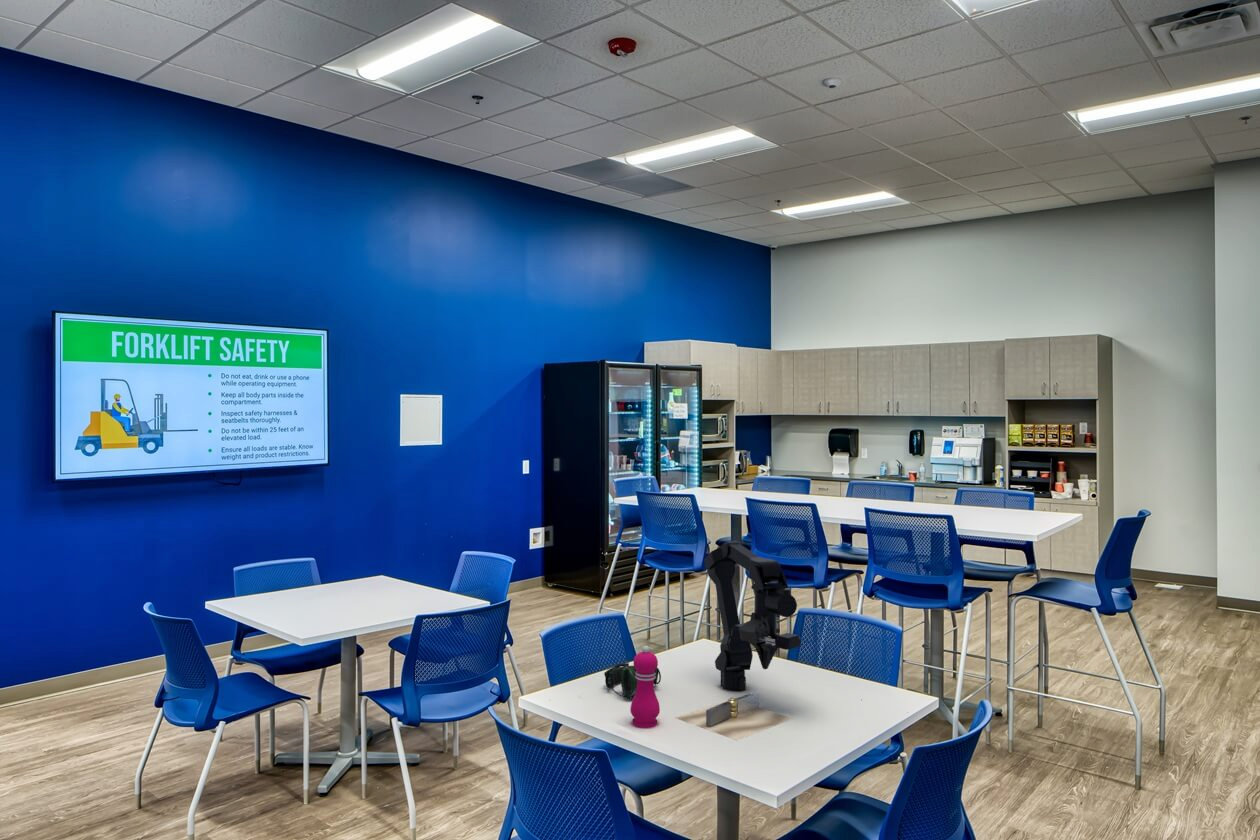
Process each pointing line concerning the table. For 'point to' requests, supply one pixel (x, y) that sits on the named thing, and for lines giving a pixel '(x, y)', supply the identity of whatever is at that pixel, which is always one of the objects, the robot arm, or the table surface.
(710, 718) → the swing leaf
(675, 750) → the table surface
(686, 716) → the board
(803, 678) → the table surface
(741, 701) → the fixed leaf
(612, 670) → the headphones
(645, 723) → the pepper mill
